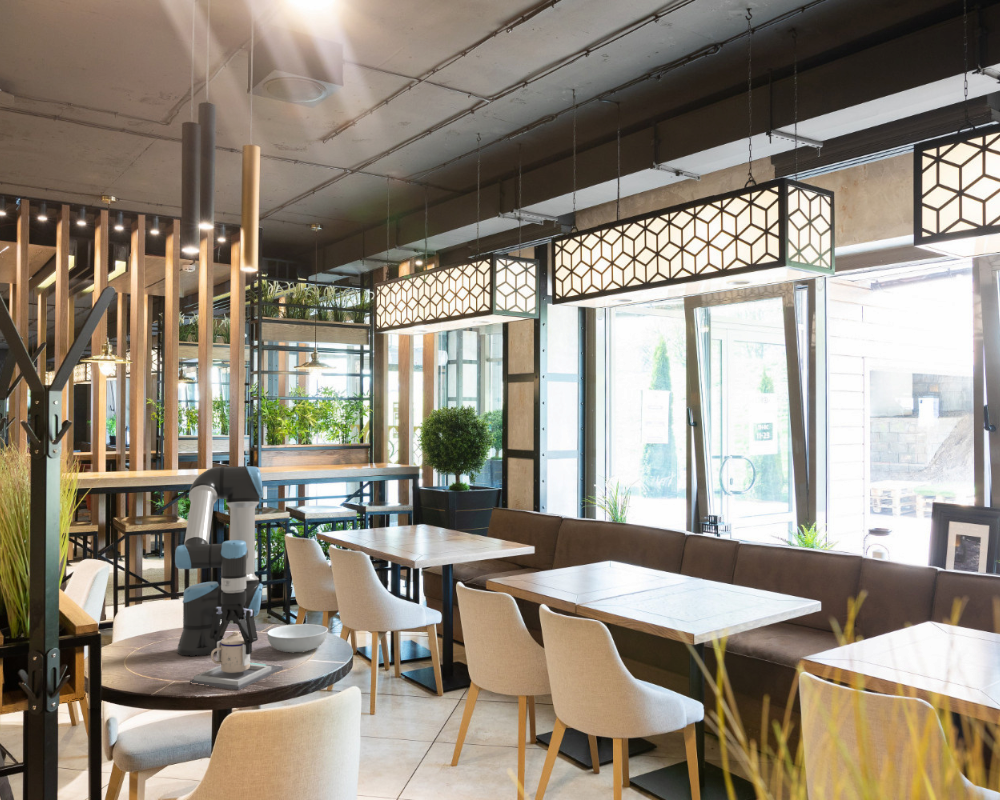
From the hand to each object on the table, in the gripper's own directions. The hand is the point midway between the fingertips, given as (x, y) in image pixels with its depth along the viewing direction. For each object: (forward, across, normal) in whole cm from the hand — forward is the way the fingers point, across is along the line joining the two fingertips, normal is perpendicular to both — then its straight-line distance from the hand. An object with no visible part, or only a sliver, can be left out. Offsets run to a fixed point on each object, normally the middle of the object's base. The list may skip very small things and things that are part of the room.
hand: (233, 663), depth 253 cm
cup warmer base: (+5, 0, +2) cm, 5 cm away
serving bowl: (+5, 0, +35) cm, 35 cm away
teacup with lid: (+2, -1, 0) cm, 3 cm away
